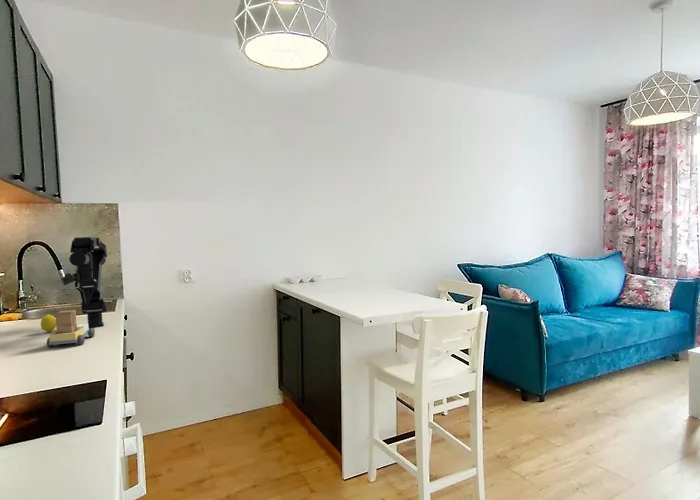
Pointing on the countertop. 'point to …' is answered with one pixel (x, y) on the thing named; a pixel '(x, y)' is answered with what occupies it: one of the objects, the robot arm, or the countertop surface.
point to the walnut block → (66, 321)
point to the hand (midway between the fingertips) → (86, 303)
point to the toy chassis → (71, 336)
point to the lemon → (48, 323)
